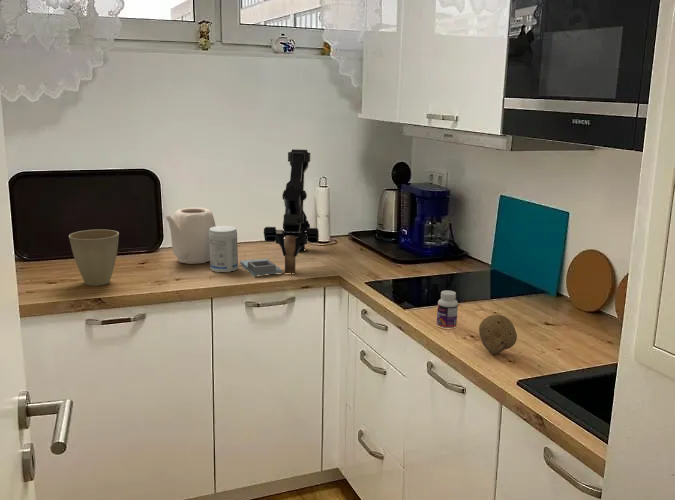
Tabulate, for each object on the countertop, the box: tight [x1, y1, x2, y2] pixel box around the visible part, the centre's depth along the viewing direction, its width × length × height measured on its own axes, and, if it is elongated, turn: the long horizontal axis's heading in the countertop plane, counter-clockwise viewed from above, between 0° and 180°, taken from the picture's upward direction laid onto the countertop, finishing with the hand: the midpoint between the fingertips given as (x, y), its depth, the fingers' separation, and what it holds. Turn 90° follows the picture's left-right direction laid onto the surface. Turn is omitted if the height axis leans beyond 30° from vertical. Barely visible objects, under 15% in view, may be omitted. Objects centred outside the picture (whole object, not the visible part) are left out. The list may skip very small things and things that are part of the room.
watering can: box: [165, 207, 217, 265], centre depth 244 cm, size 16×27×19 cm, turn 154°
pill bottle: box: [436, 290, 459, 329], centre depth 185 cm, size 5×5×10 cm
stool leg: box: [284, 235, 297, 274], centre depth 233 cm, size 4×4×13 cm
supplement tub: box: [209, 225, 239, 273], centre depth 235 cm, size 10×10×15 cm
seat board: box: [239, 258, 283, 277], centre depth 237 cm, size 17×10×4 cm, turn 24°
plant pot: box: [68, 229, 120, 287], centre depth 216 cm, size 15×15×16 cm
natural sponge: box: [478, 314, 518, 355], centre depth 167 cm, size 9×9×10 cm
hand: (289, 255), depth 231 cm, fingers closed on stool leg, 4 cm apart
